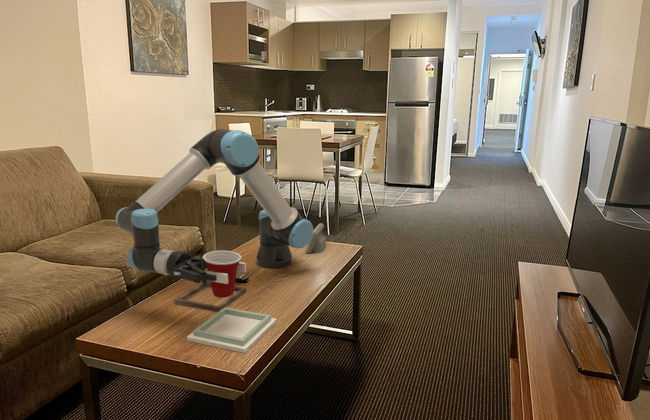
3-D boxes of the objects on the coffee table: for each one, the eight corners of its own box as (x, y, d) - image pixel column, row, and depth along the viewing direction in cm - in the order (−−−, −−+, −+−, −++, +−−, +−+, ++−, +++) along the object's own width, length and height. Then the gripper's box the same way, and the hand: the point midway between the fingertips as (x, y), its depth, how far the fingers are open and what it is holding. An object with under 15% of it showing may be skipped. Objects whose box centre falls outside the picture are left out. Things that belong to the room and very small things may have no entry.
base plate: (224, 312, 148) (223, 304, 147) (277, 322, 141) (276, 314, 141) (187, 340, 131) (186, 332, 130) (245, 353, 124) (245, 344, 124)
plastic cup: (233, 303, 129) (231, 263, 127) (198, 299, 132) (196, 260, 129) (248, 288, 140) (246, 251, 137) (215, 285, 142) (213, 248, 139)
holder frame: (205, 284, 170) (205, 281, 170) (246, 291, 164) (246, 287, 164) (174, 303, 154) (174, 299, 154) (219, 312, 148) (218, 307, 148)
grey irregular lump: (314, 243, 220) (314, 221, 218) (331, 245, 217) (331, 223, 214) (299, 253, 206) (298, 230, 203) (317, 255, 202) (317, 232, 200)
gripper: (196, 263, 151) (256, 272, 143) (149, 287, 132) (215, 299, 123) (194, 241, 149) (255, 249, 141) (146, 262, 130) (213, 273, 122)
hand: (236, 273), depth 132 cm, fingers closed on plastic cup, 9 cm apart
